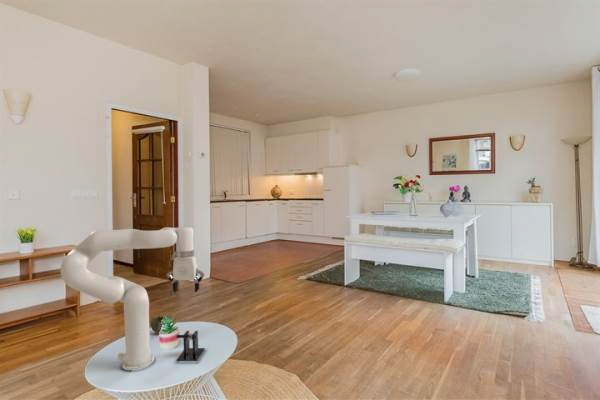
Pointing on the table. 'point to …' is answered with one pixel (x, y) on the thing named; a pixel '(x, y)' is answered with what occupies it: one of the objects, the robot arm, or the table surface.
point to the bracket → (191, 349)
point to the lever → (185, 336)
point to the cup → (156, 324)
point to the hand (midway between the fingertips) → (186, 291)
